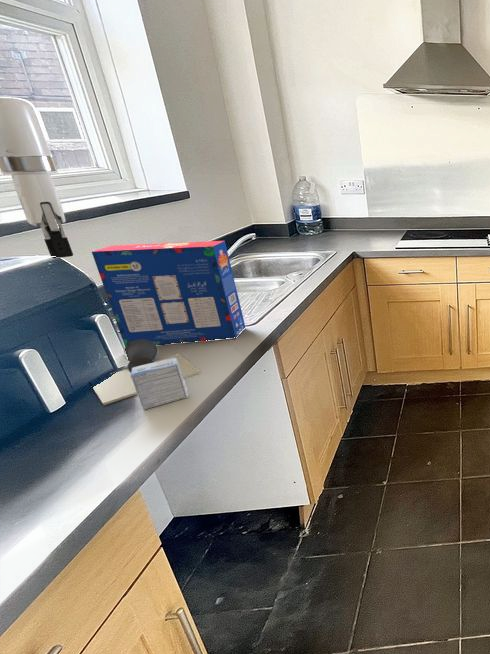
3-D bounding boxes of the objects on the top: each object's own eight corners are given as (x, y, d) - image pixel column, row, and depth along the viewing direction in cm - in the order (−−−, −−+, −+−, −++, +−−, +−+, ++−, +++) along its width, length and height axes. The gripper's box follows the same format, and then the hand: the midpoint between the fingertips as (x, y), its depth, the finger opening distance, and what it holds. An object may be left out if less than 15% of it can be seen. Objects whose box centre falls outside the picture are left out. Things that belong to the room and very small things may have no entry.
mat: (103, 405, 90) (102, 403, 90) (89, 382, 99) (88, 380, 99) (200, 373, 104) (199, 371, 103) (179, 355, 113) (179, 353, 113)
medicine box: (187, 389, 96) (176, 356, 93) (188, 397, 93) (177, 363, 90) (143, 402, 92) (130, 367, 89) (142, 411, 88) (130, 375, 85)
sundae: (160, 376, 104) (158, 354, 114) (158, 351, 102) (156, 331, 113) (124, 381, 99) (125, 358, 110) (121, 355, 98) (123, 334, 108)
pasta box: (245, 328, 130) (224, 240, 121) (236, 339, 123) (212, 246, 114) (142, 337, 124) (111, 245, 115) (125, 348, 117) (91, 251, 108)
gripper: (-4, 166, 84) (32, 255, 90) (2, 167, 75) (41, 265, 81) (50, 165, 89) (80, 249, 95) (61, 166, 81) (93, 258, 87)
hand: (62, 256), depth 88 cm, fingers closed
